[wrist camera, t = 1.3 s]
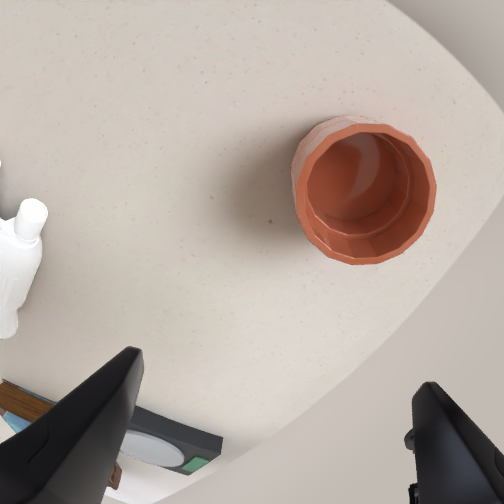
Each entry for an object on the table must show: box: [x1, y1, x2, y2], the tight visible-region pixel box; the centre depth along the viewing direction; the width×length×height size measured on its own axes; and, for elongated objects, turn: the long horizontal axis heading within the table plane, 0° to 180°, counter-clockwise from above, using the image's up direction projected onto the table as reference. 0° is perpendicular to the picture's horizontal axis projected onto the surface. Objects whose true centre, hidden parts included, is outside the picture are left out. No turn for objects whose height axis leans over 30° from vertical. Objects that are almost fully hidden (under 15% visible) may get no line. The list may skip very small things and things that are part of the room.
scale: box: [119, 405, 223, 476], centre depth 33 cm, size 14×12×3 cm
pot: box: [291, 116, 437, 265], centre depth 15 cm, size 7×7×4 cm
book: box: [0, 379, 122, 490], centre depth 37 cm, size 23×18×5 cm
